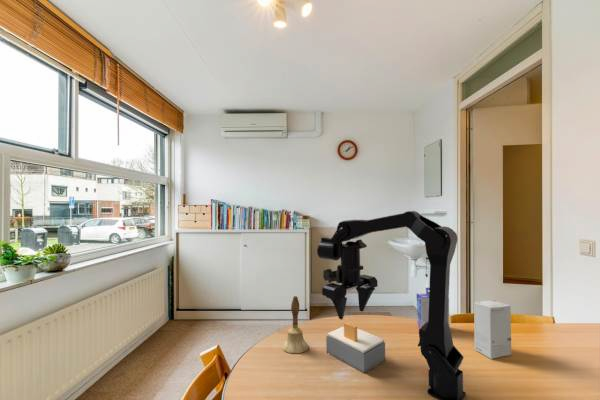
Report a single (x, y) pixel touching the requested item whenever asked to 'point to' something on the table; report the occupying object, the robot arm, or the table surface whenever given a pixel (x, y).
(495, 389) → the table surface
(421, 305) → the ink cartridge box
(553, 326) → the table surface
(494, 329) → the skincare box
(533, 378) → the table surface
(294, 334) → the hand bell
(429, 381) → the robot arm
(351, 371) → the table surface
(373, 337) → the flap
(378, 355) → the carton
